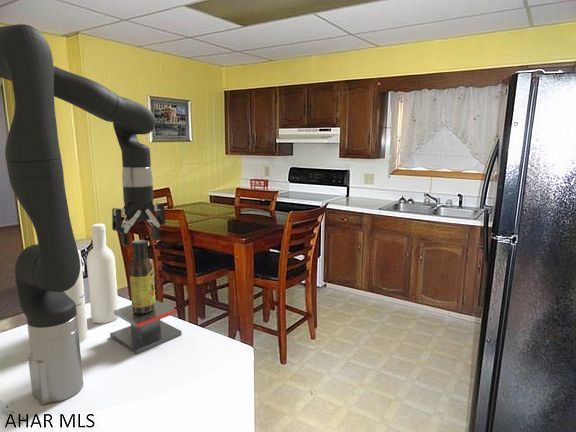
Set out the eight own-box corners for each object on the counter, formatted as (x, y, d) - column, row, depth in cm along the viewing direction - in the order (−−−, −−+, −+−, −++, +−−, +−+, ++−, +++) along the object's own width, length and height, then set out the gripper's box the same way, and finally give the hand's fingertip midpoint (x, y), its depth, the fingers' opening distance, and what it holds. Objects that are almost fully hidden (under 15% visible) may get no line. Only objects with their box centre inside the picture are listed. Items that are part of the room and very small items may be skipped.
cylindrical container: (93, 333, 115) (86, 249, 110) (78, 345, 108) (69, 257, 103) (69, 331, 115) (61, 248, 111) (53, 344, 108) (43, 256, 104)
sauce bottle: (158, 311, 111) (154, 242, 107) (134, 316, 108) (129, 245, 104) (152, 303, 116) (149, 237, 112) (130, 308, 113) (125, 240, 109)
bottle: (96, 326, 119) (87, 228, 113) (88, 317, 125) (79, 224, 119) (123, 318, 124) (116, 225, 119) (114, 310, 130) (107, 220, 124)
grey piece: (136, 354, 104) (134, 325, 102) (110, 337, 113) (108, 310, 111) (181, 334, 114) (180, 308, 113) (154, 320, 123) (153, 296, 122)
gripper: (153, 181, 113) (156, 236, 116) (104, 184, 102) (108, 245, 105) (169, 183, 109) (171, 240, 112) (119, 187, 98) (123, 250, 101)
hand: (141, 243), depth 108 cm, fingers open, 8 cm apart
